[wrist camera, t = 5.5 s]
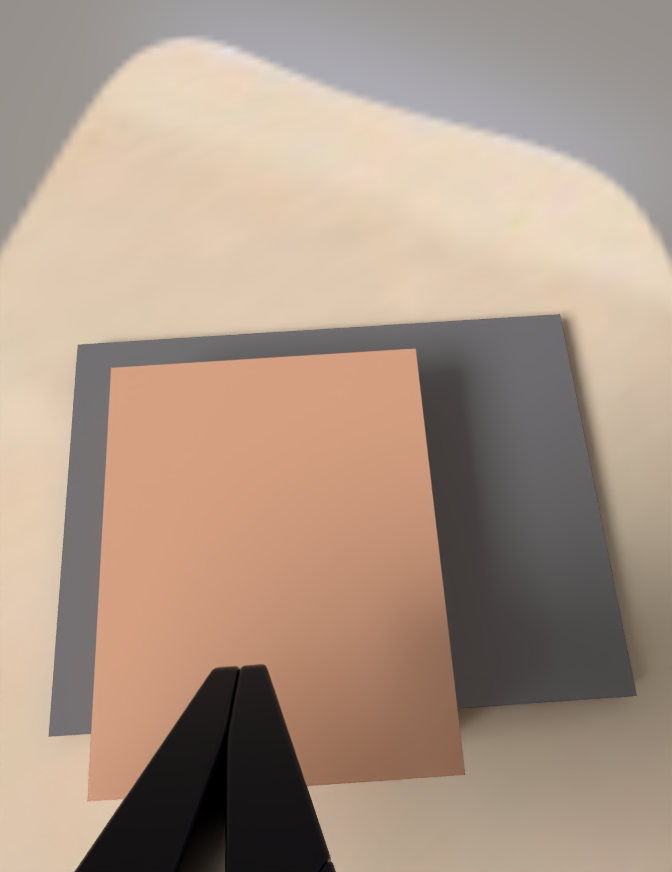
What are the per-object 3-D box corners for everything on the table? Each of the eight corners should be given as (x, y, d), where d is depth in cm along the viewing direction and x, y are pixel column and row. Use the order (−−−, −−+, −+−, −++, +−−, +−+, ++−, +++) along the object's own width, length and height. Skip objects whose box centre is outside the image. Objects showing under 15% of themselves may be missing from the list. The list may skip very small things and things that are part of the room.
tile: (465, 774, 13) (415, 348, 16) (87, 801, 13) (110, 367, 16) (446, 753, 15) (406, 384, 18) (126, 775, 15) (140, 401, 18)
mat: (626, 693, 16) (636, 695, 16) (59, 732, 16) (48, 736, 15) (553, 323, 19) (559, 314, 19) (85, 353, 19) (77, 344, 19)
